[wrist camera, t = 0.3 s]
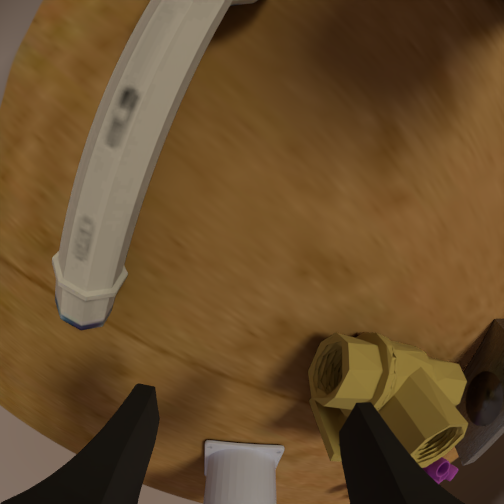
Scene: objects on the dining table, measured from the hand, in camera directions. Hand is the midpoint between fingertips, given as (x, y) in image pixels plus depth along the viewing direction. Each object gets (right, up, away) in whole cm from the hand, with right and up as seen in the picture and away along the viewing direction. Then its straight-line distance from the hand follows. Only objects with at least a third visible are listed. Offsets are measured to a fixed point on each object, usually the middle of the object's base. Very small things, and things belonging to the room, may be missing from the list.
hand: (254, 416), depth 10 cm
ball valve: (+10, -4, +13) cm, 17 cm away
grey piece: (-5, +13, +5) cm, 15 cm away
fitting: (+24, -6, +13) cm, 28 cm away
